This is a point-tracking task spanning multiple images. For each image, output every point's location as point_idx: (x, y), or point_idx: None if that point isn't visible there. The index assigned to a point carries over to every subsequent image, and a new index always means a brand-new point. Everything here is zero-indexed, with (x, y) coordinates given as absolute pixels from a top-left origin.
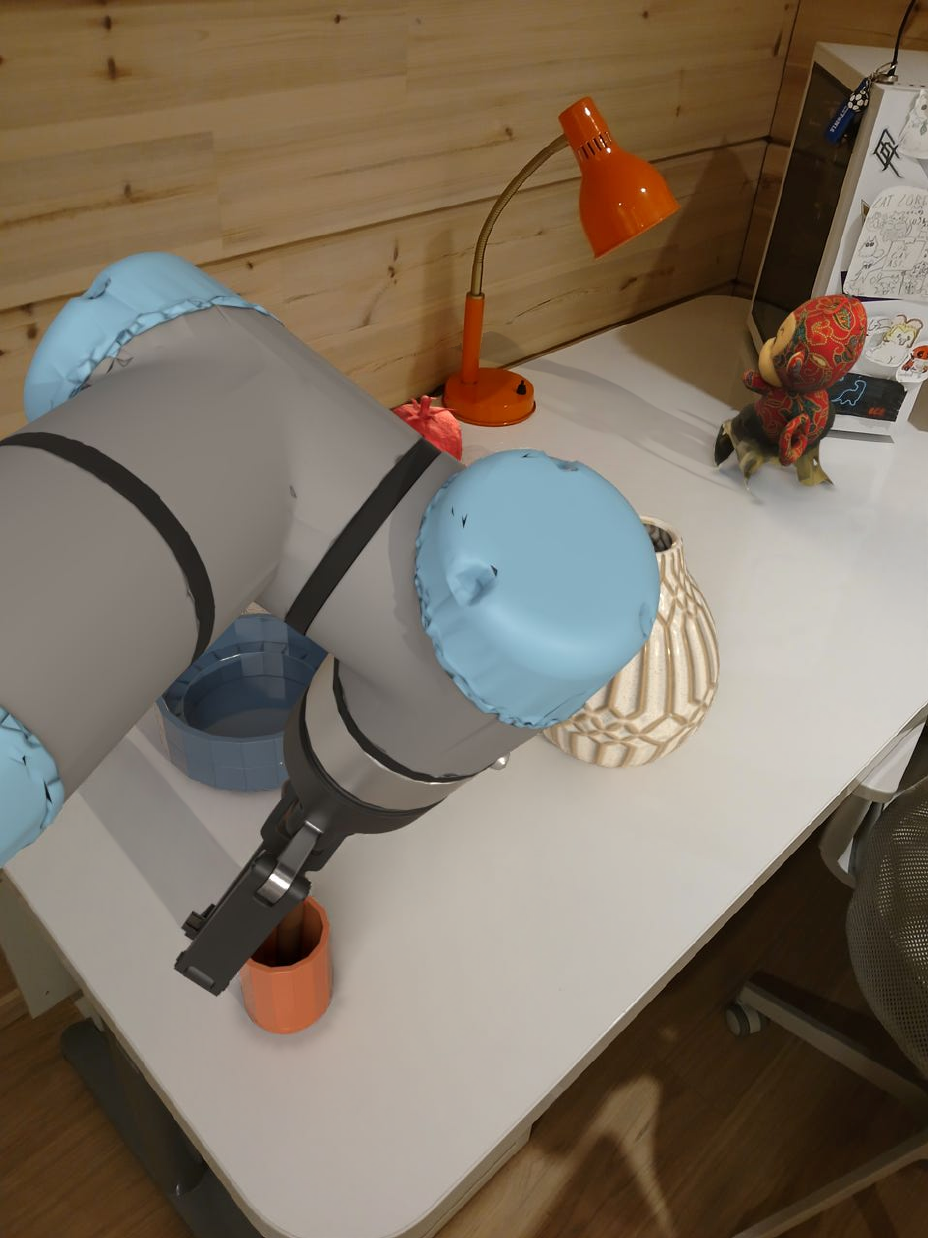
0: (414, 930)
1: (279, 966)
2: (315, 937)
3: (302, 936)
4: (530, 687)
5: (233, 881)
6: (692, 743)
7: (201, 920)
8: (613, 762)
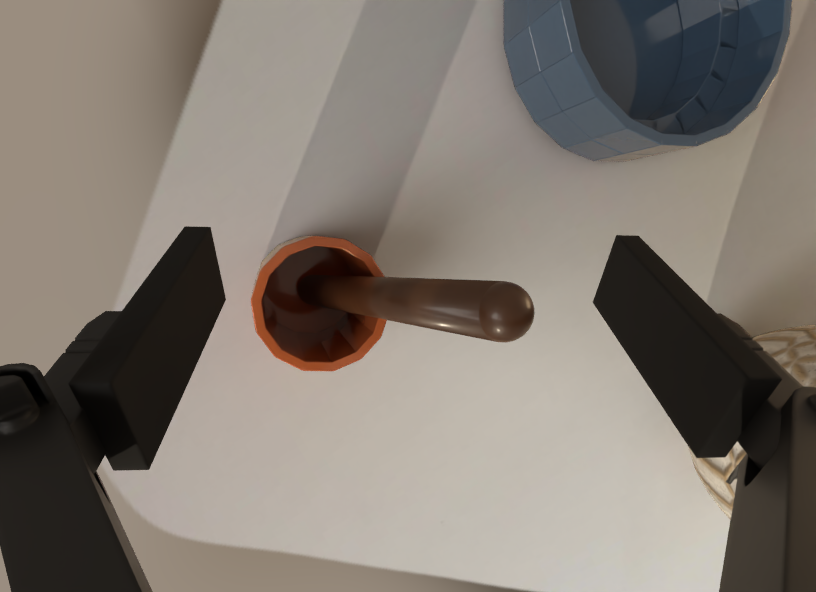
0: (437, 366)
1: (309, 289)
2: None
3: None
4: None
5: (91, 514)
6: None
7: (19, 418)
8: (700, 470)
